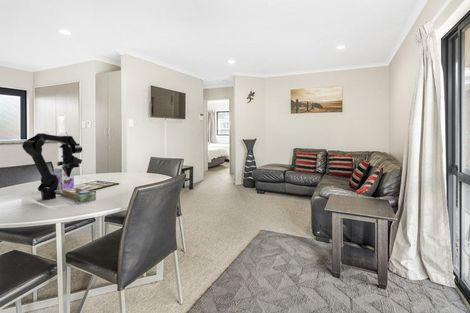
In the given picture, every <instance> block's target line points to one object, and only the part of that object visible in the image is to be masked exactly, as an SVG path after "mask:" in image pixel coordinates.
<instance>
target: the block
mask: <svg viewBox="0 0 470 313" xmlns="http://www.w3.org/2000/svg"><path fill="white" fill-rule="evenodd" d="M87 190H88V189H85V190H83V191H80V192H78V194H79V195H86V194H90V191H87Z"/></svg>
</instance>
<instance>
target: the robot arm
mask: <svg viewBox="0 0 470 313" xmlns="http://www.w3.org/2000/svg"><path fill="white" fill-rule="evenodd" d="M47 141H48V142H57V143H59V144H60V145H59V149H62V150H61V151H62V155H61V158H62V160H61V161H57V163H56V165H57V166H58V167H61V168H62V169H63V170H64V172H65V173H66V175H67V177H70V175H71V171H72V169H73V170H74V169H75V168H80V165H81V164H82V162H83V160H82V159H81V158H78V157H76V156H75V155H74V154H81V153H82V152H83V147H82V145H80V143H77V142H76V141H75V138H74V137H73V136H72V135H55V134H54V135H53V134H49V133H48V134H47V133H44V132H43V133H41V132H40V133H39V132H38V133H37V134H35V135H33V136H32V137H29V138H28V139H27V140H25V141H23V143H22V145H21V147H22V149H23V150H24V152H25V153H27V154H28V155H29V156H30V157H31V159H32V160H33V162H34V165H35V166H36V168H37V171H38V172H39V174H40V176H41V178H40V185H39V186H38V187H37V190H38V192H40V197H41V198H40V199H41V200H42V201H47V200H54V199H57V193H56V191H58V190H57V187H58V183H59V182H58V180H59V179H58V178H57V176H56V175H54V174H52V172H51V171H50V169H49V167H48V165H47V162H46V160H45V159H44V156H43V153H42V152H43V146H44V145H45V143H46V142H47Z"/></svg>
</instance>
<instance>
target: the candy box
mask: <svg viewBox="0 0 470 313" xmlns="http://www.w3.org/2000/svg"><path fill="white" fill-rule="evenodd" d="M61 167H62V166H58V167H55V168H52V171H53V175H56V176H57V178H58V179H59V180H58V182H59V183H58V187H57V190H56V191H60V190H66V189H71V187H72V188H74V187H75V183H74V182H75V180H74V179H75V178H74V168H73V169H72V171H71V175H70V177H67V175H66V173H65V172H64V170H63V169H62V168H61Z"/></svg>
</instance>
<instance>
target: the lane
mask: <svg viewBox="0 0 470 313" xmlns="http://www.w3.org/2000/svg"><path fill="white" fill-rule="evenodd" d="M61 190H62V195H63V196H65V197H69V198H72V199H75V200H76V201H77V202H78V203H86V202H91V201H96V200H97V196H96V195H97V191H96V190H95V189H86V190H87V191H90V194H86V195H79V194H78V192H80V191H84V190H83V189H82V188H79V187H75V192H72V191H69V190H66V189H61Z"/></svg>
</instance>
